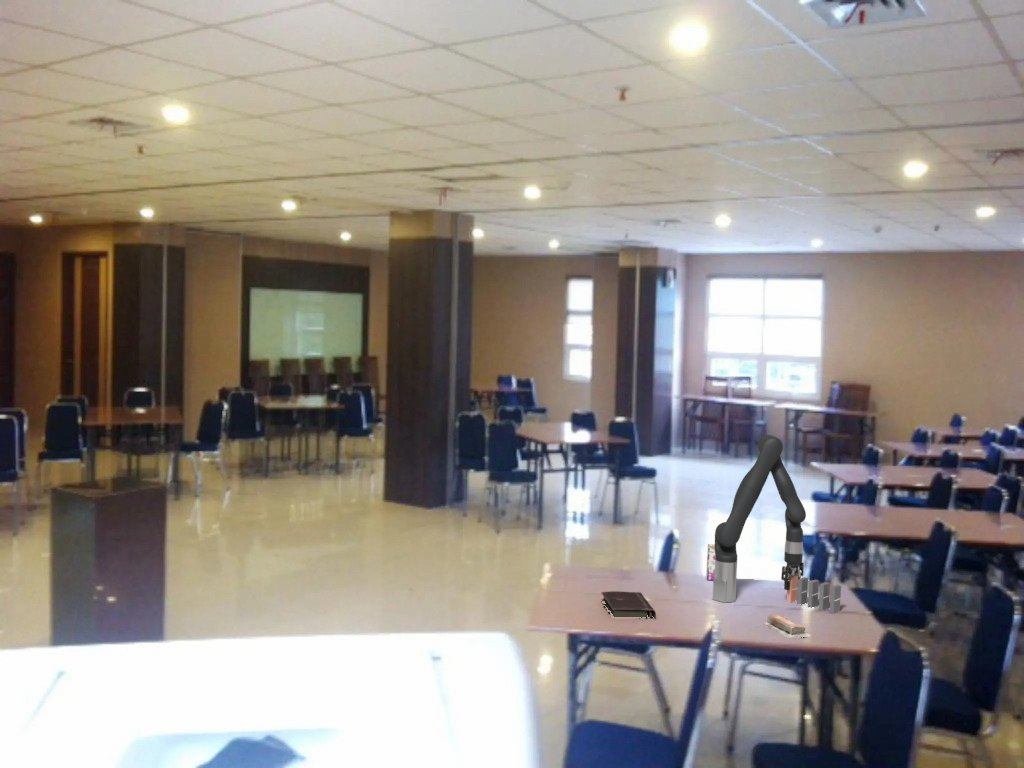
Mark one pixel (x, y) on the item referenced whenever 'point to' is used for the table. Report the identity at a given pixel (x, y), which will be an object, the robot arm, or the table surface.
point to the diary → (628, 604)
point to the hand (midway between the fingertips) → (791, 588)
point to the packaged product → (786, 626)
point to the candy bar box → (711, 562)
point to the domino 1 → (792, 589)
